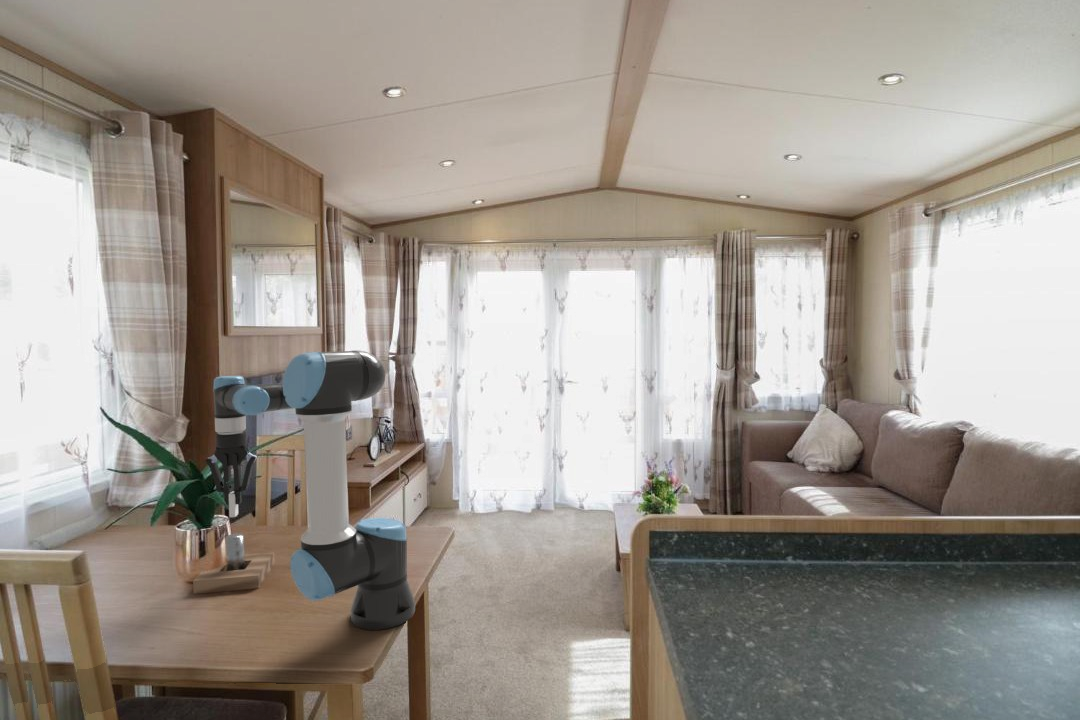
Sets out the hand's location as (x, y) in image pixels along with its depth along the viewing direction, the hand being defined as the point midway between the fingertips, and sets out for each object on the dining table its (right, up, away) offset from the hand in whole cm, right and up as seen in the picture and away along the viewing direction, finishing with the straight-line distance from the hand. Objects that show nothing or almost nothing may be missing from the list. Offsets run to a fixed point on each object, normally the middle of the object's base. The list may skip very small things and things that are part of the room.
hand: (233, 515), depth 157 cm
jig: (0, -18, +1) cm, 18 cm away
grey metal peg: (0, -18, +1) cm, 18 cm away
